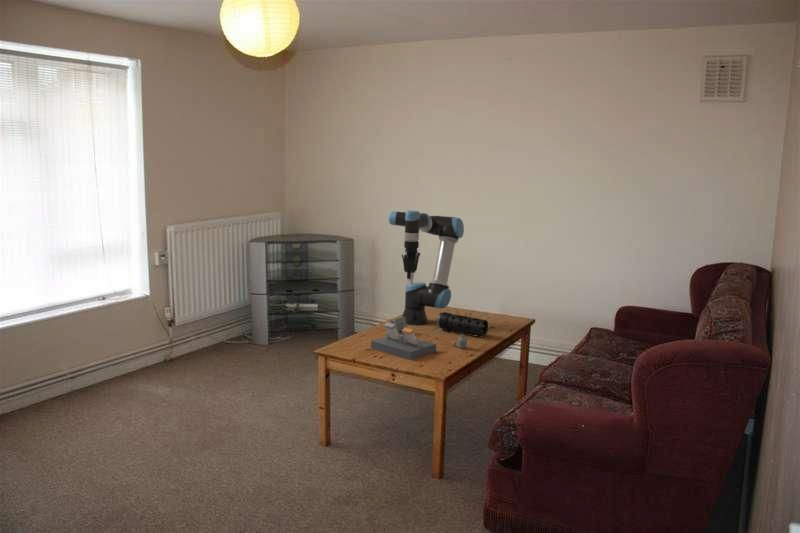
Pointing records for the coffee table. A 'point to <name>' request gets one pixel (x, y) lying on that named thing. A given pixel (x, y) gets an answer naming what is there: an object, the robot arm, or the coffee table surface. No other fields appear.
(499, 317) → the coffee table surface
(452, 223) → the robot arm
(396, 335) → the breaker
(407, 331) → the breaker
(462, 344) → the reed diffuser
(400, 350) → the breaker panel
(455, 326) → the muzzle brake
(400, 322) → the electrical switch
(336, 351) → the coffee table surface
